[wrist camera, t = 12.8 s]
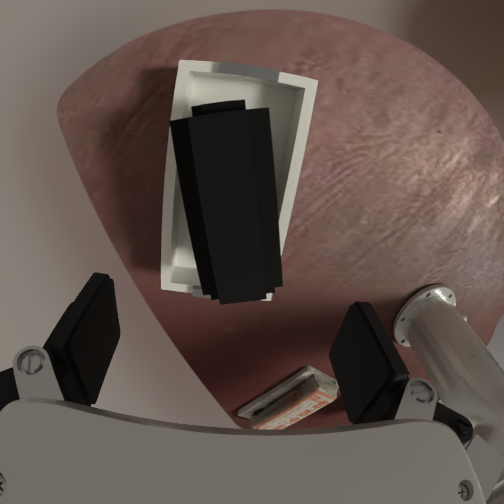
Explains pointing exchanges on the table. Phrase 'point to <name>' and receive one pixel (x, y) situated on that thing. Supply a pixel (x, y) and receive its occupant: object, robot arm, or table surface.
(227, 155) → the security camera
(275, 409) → the packaged product
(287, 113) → the cradle
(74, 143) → the table surface
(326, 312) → the table surface
